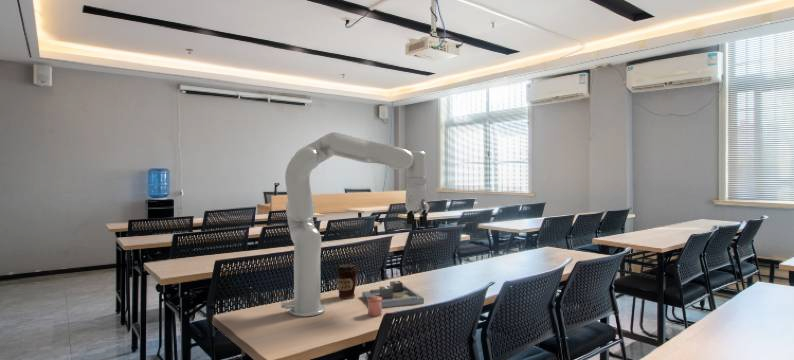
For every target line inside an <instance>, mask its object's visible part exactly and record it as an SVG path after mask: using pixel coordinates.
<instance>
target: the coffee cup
mask: <svg viewBox="0 0 794 360" xmlns="http://www.w3.org/2000/svg"><path fill="white" fill-rule="evenodd" d="M337 267H338V268H337V269H336V275H337V276H336V277H337V289H338V298H340V299H342V300H349V299H354V298H356V295H355V290H356V286H357V274H358V268H357V265H356V264H340V265H338V266H337Z"/></svg>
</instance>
